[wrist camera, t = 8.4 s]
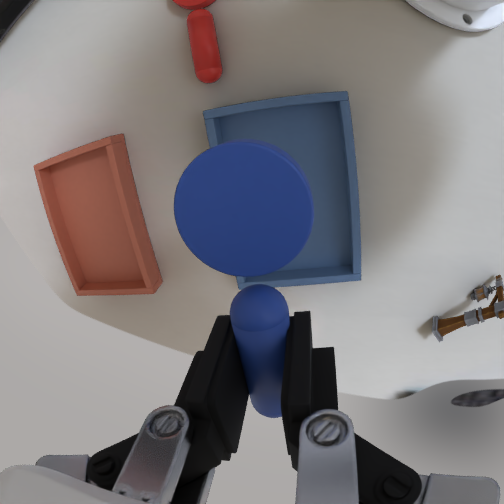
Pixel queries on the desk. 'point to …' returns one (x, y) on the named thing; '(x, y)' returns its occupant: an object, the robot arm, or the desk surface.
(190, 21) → the red disc and rod
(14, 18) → the portable cd player
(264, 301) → the blue spoon
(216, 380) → the robot arm
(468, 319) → the wooden post with brackets
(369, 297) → the desk surface
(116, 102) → the desk surface
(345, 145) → the blue-grey tray
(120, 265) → the terracotta tray
